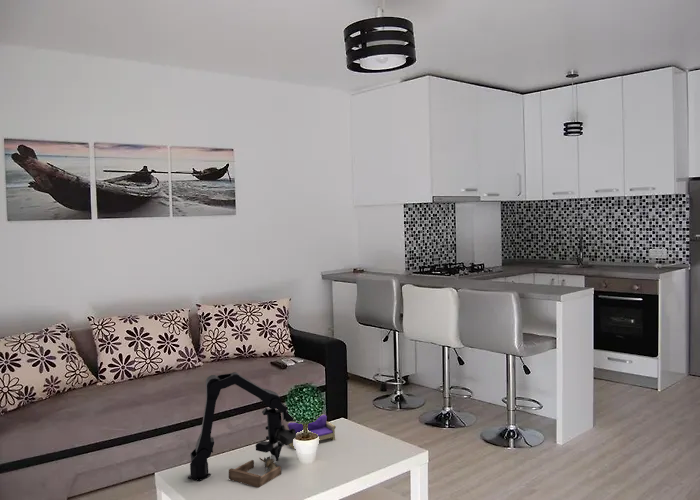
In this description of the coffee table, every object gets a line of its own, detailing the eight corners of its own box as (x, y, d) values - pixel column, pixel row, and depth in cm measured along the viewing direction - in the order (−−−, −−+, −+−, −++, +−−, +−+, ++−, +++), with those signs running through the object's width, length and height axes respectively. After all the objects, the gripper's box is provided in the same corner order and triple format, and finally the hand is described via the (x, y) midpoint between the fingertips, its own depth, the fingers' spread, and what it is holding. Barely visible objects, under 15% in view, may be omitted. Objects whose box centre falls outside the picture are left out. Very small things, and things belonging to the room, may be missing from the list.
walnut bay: (258, 487, 231) (258, 477, 230) (229, 479, 239) (228, 469, 238) (281, 474, 242) (280, 464, 242) (252, 467, 250) (251, 457, 250)
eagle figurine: (254, 467, 247) (260, 471, 239) (262, 450, 249) (268, 453, 241) (271, 474, 249) (277, 478, 241) (278, 457, 251) (285, 460, 243)
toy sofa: (294, 450, 266) (293, 427, 266) (286, 444, 274) (285, 422, 273) (336, 440, 277) (335, 418, 276) (327, 434, 284) (326, 413, 284)
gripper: (275, 434, 238) (277, 473, 239) (304, 419, 254) (305, 456, 255) (253, 429, 244) (255, 468, 245) (282, 415, 260) (284, 451, 261)
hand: (276, 460), depth 251 cm, fingers closed
